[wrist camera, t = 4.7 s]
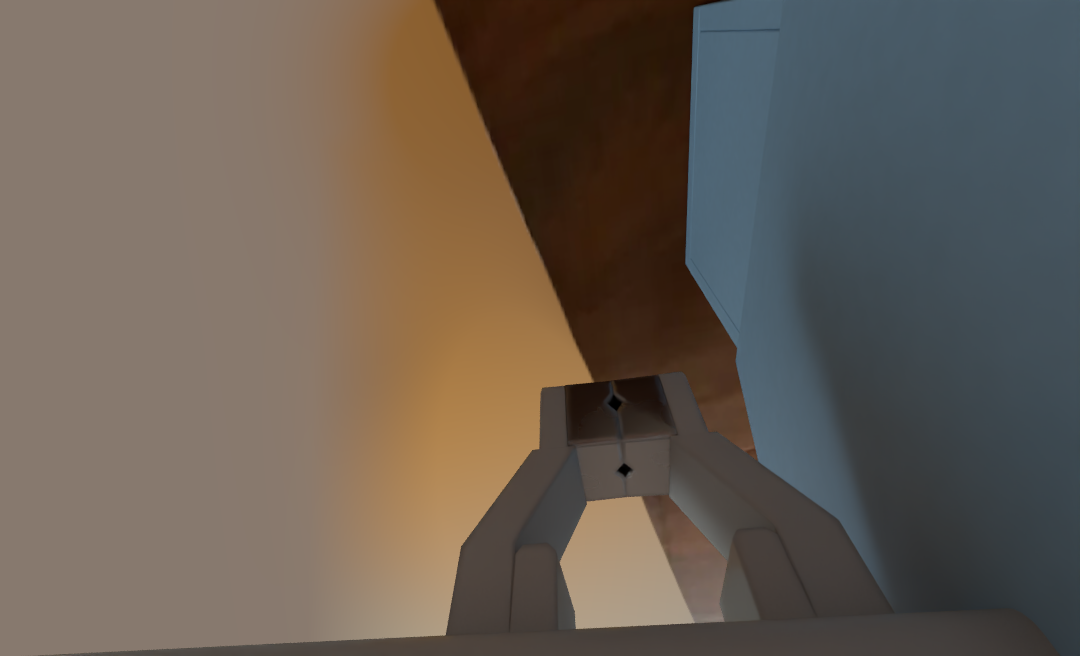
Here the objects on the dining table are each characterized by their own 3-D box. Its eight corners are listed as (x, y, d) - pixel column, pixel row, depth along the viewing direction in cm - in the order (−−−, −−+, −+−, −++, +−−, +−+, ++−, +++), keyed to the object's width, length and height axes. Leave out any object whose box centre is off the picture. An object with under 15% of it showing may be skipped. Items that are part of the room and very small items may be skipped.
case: (1098, -82, 16) (1540, -175, 9) (963, 221, 24) (1148, 303, 16) (693, 6, 18) (792, -12, 11) (685, 264, 25) (741, 355, 18)
